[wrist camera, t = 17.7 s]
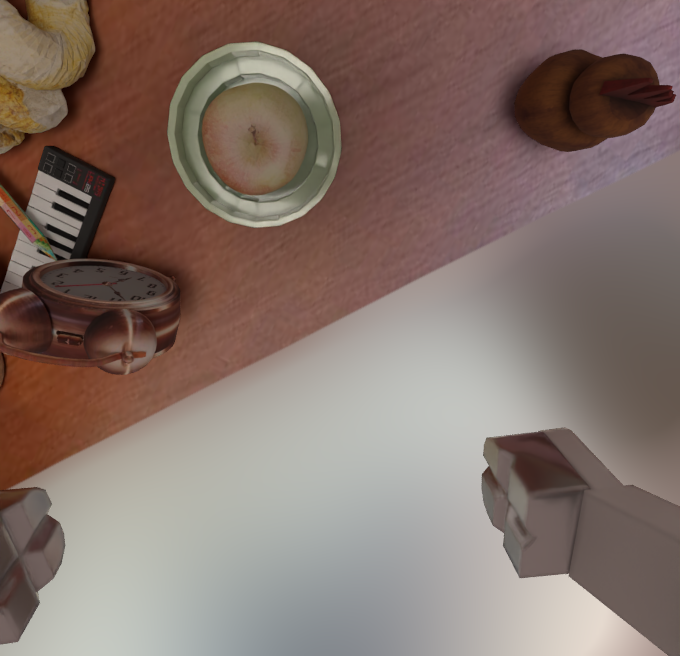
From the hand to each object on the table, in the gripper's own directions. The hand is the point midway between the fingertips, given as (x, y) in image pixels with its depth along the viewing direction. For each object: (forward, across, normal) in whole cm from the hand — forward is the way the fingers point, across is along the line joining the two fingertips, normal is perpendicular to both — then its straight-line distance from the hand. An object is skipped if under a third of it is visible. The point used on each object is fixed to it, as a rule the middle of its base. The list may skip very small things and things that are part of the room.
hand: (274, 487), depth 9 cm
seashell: (+33, +18, -13) cm, 40 cm away
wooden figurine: (+33, -21, -7) cm, 40 cm away
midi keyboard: (+32, +23, 0) cm, 40 cm away
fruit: (+33, +2, -6) cm, 33 cm away
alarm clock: (+33, +15, +5) cm, 37 cm away
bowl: (+33, +2, -6) cm, 34 cm away
